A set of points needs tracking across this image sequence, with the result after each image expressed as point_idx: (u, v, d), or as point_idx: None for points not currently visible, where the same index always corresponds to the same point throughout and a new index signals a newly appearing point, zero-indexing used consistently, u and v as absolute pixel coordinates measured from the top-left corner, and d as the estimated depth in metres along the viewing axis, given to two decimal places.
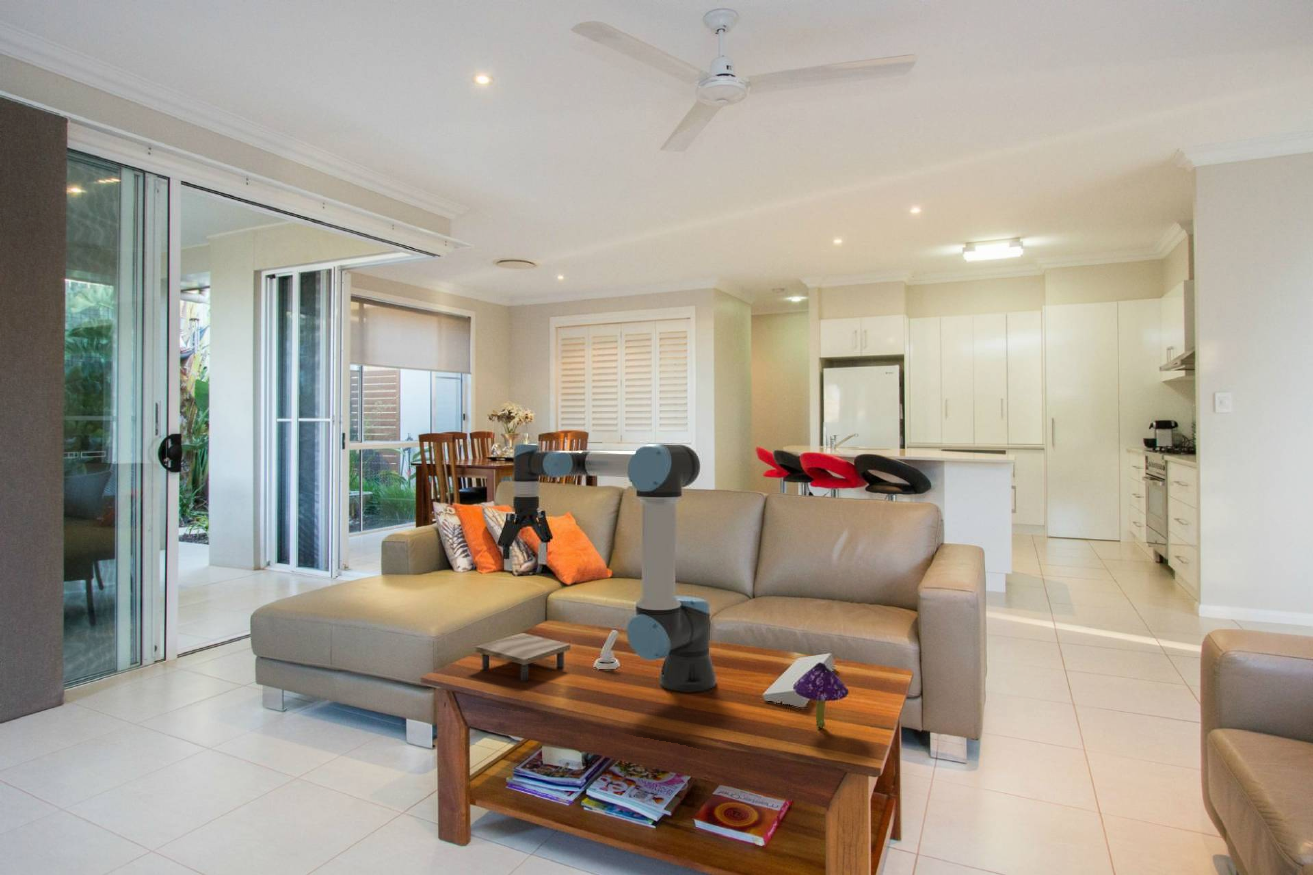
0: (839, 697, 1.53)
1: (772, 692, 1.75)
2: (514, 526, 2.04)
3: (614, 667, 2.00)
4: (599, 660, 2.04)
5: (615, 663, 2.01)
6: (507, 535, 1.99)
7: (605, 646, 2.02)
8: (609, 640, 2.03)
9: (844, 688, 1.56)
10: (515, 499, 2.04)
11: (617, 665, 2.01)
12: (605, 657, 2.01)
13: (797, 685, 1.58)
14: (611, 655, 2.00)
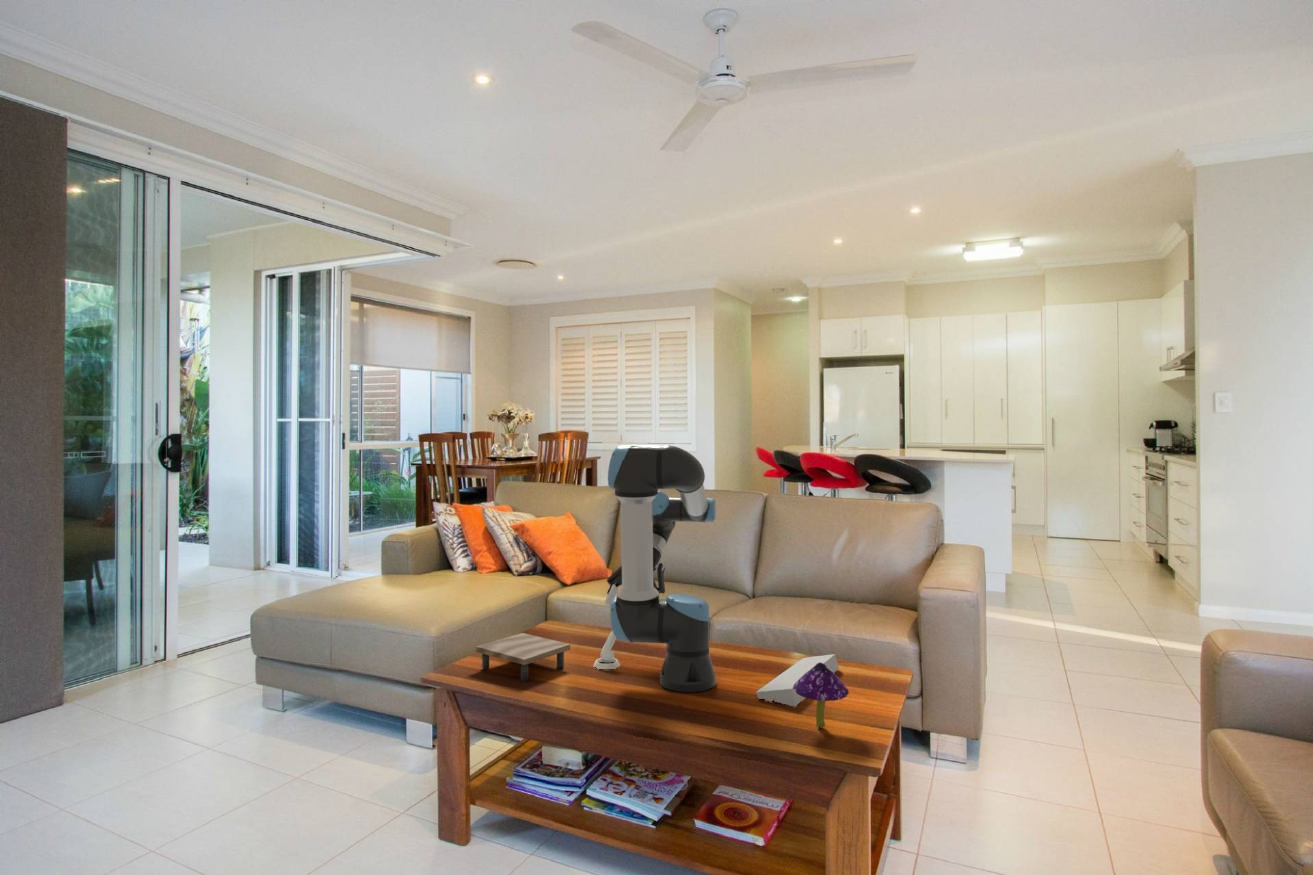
0: (839, 697, 1.53)
1: (765, 690, 1.76)
2: None
3: (614, 667, 2.00)
4: (599, 660, 2.04)
5: (615, 663, 2.01)
6: (614, 574, 2.21)
7: (605, 646, 2.02)
8: (609, 640, 2.03)
9: (844, 688, 1.56)
10: None
11: (617, 665, 2.01)
12: (605, 657, 2.01)
13: (797, 685, 1.58)
14: (611, 655, 2.00)
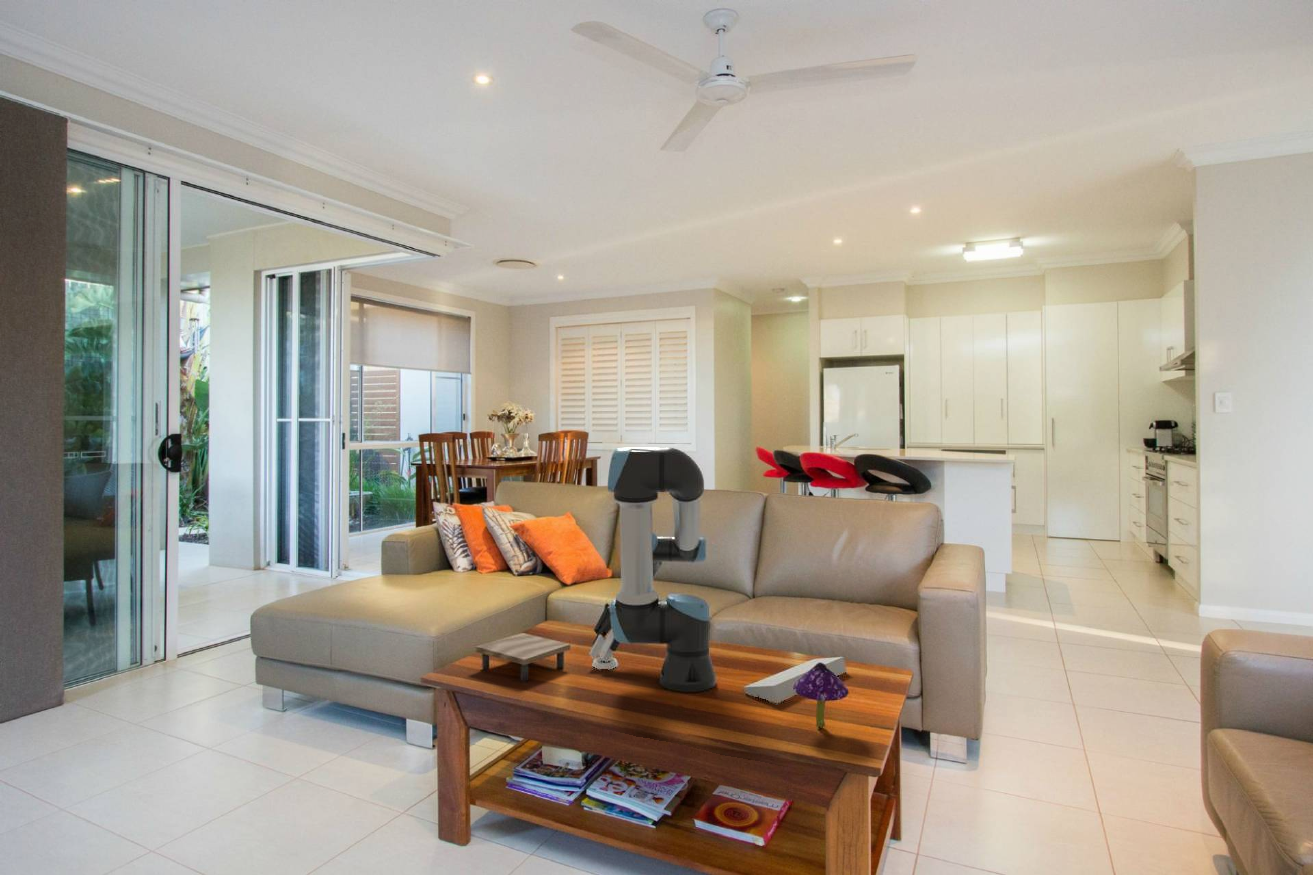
0: (839, 697, 1.53)
1: (752, 686, 1.80)
2: None
3: (612, 666, 2.00)
4: (598, 659, 2.05)
5: (613, 662, 2.01)
6: (599, 622, 2.08)
7: (604, 645, 2.03)
8: (608, 639, 2.03)
9: (844, 688, 1.56)
10: None
11: (615, 664, 2.01)
12: None
13: (797, 685, 1.58)
14: None
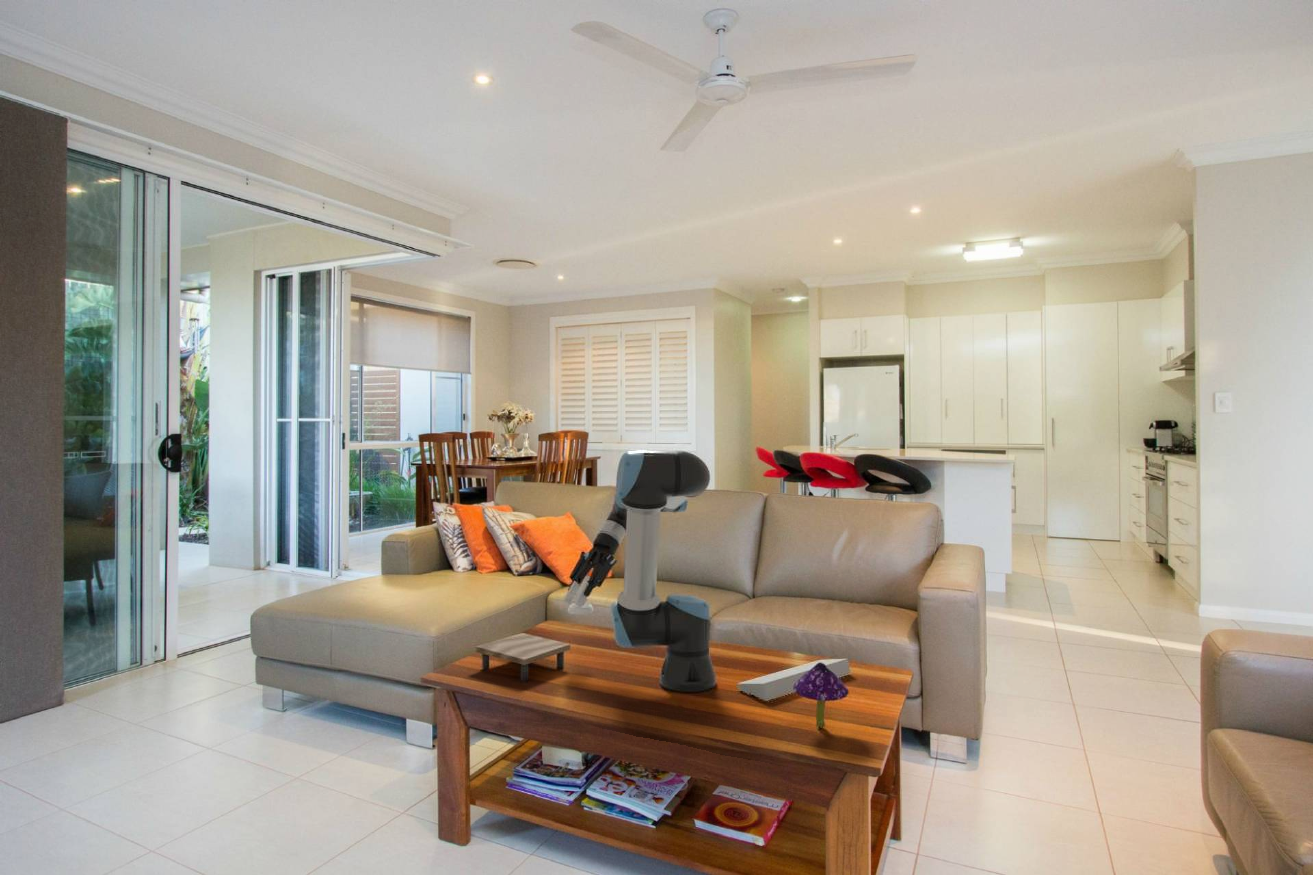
0: (839, 697, 1.53)
1: (745, 683, 1.82)
2: None
3: (587, 611, 2.04)
4: (574, 605, 2.09)
5: (588, 607, 2.05)
6: (574, 569, 2.12)
7: (578, 591, 2.07)
8: (583, 585, 2.07)
9: (844, 688, 1.56)
10: None
11: (590, 609, 2.05)
12: None
13: (797, 685, 1.58)
14: None
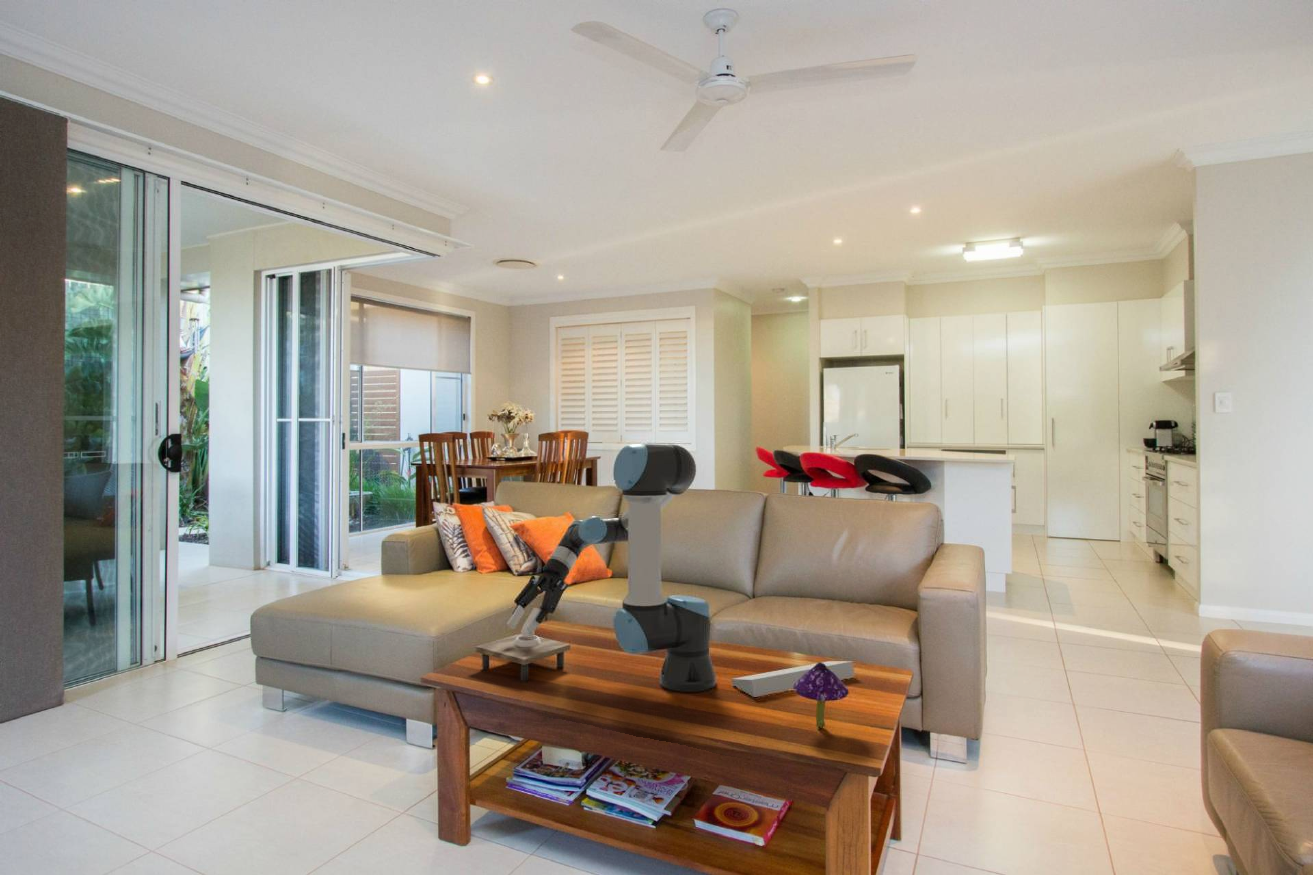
0: (839, 697, 1.53)
1: (738, 678, 1.85)
2: None
3: (534, 644, 2.00)
4: (520, 637, 2.04)
5: (535, 640, 2.01)
6: (521, 593, 2.08)
7: (526, 623, 2.02)
8: (530, 617, 2.03)
9: (844, 688, 1.56)
10: None
11: (537, 642, 2.01)
12: (525, 634, 2.01)
13: (797, 685, 1.58)
14: None
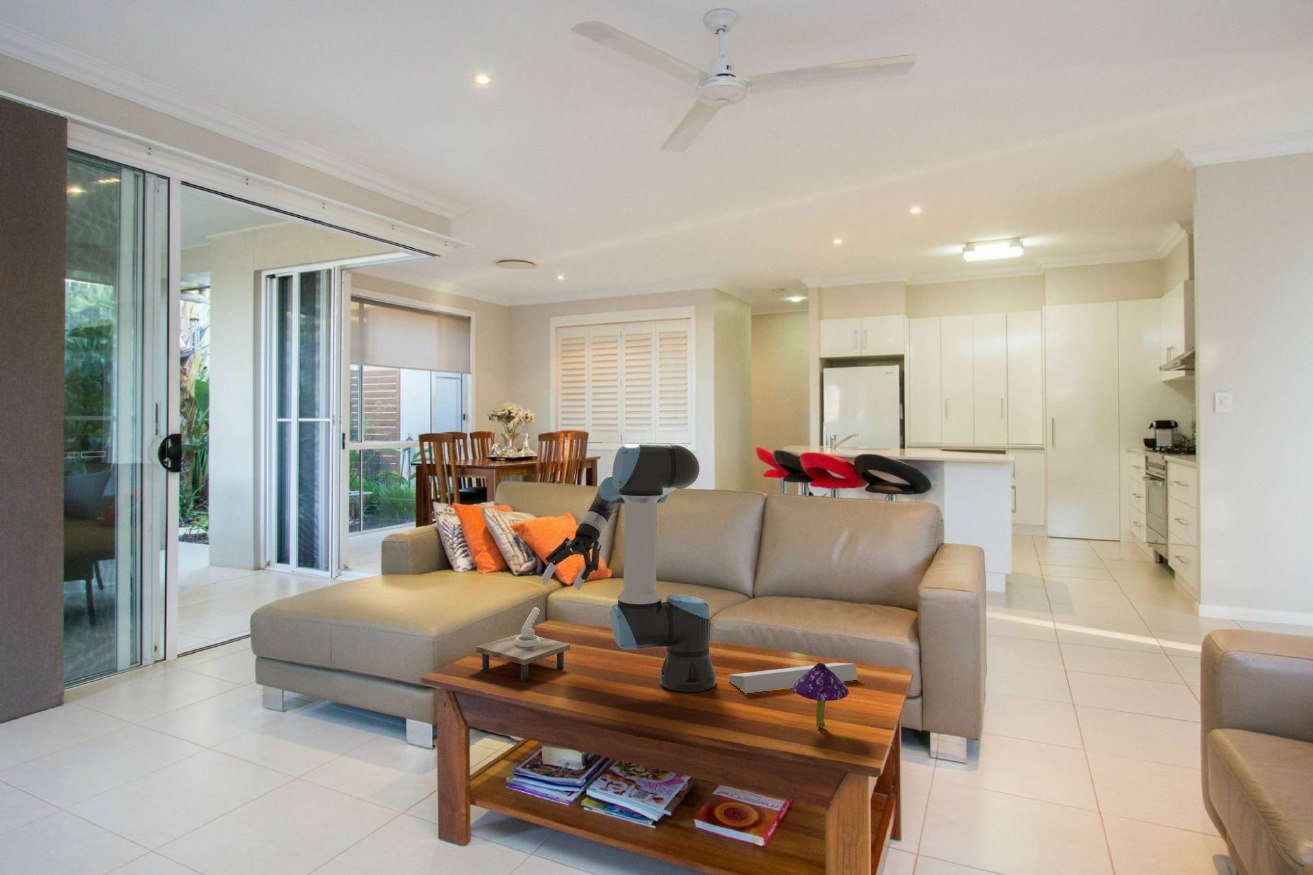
0: (839, 697, 1.53)
1: None
2: None
3: (534, 644, 2.00)
4: (520, 637, 2.04)
5: (535, 640, 2.01)
6: (553, 552, 2.21)
7: (526, 623, 2.02)
8: (530, 617, 2.03)
9: (844, 688, 1.56)
10: None
11: (537, 642, 2.01)
12: (525, 634, 2.01)
13: (797, 685, 1.58)
14: (531, 632, 2.00)
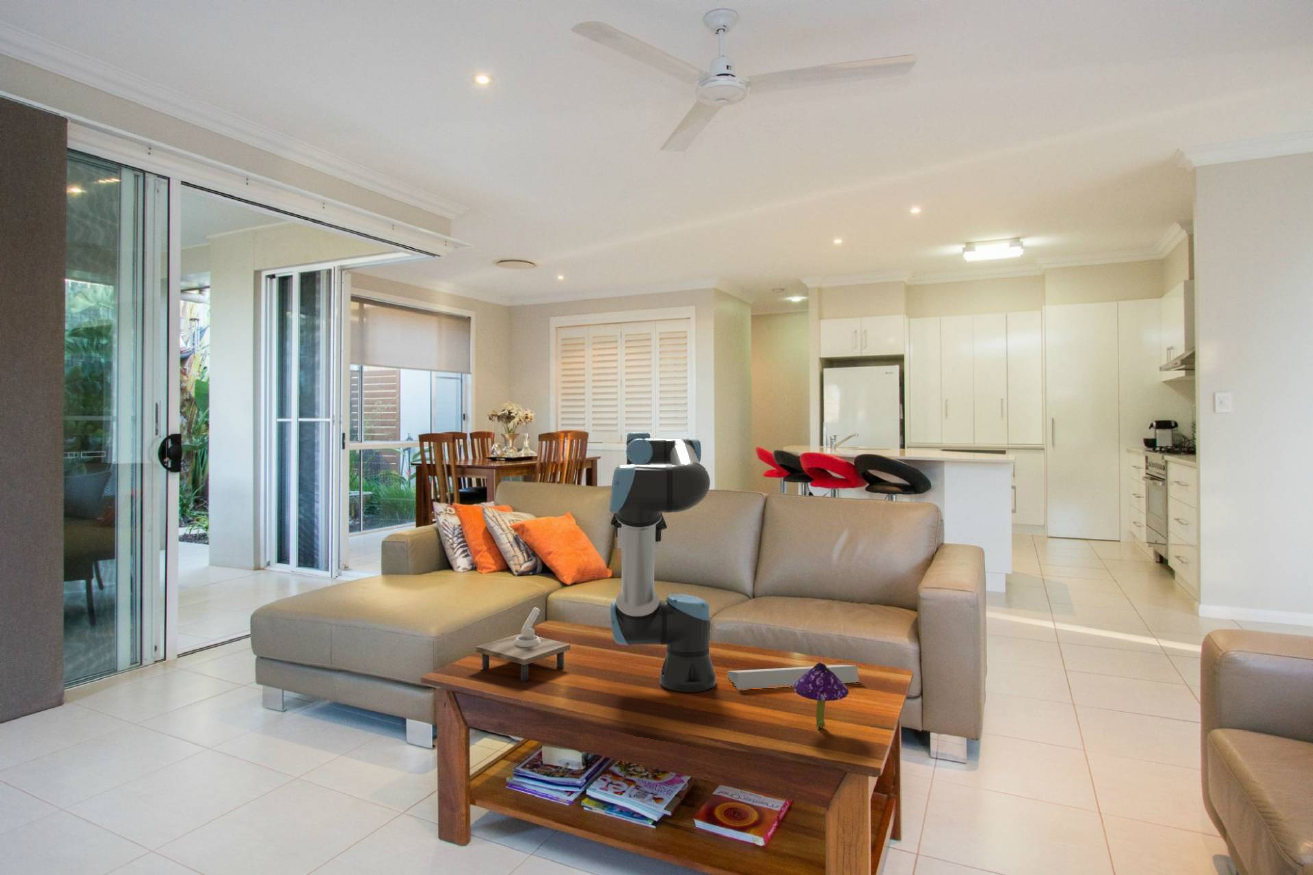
0: (839, 697, 1.53)
1: (732, 671, 1.91)
2: None
3: (534, 644, 2.00)
4: (520, 637, 2.04)
5: (535, 640, 2.01)
6: (614, 515, 2.21)
7: (526, 623, 2.02)
8: (530, 617, 2.03)
9: (844, 688, 1.56)
10: None
11: (537, 642, 2.01)
12: (525, 634, 2.01)
13: (797, 685, 1.58)
14: (531, 632, 2.00)
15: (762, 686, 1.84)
